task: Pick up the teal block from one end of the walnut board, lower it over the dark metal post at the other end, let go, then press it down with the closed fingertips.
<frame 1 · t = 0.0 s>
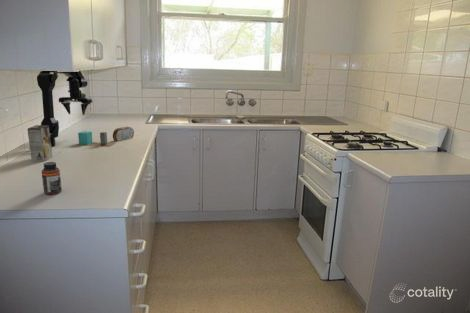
hand: (76, 114, 221), 15 cm above the countertop, tool pointing down, fingers open, 9 cm apart
tin: (124, 141, 220), on the countertop
teal block: (85, 143, 206), point 1 cm above the countertop, touching walnut board
walnut board: (95, 146, 205), on the countertop
post: (104, 144, 204), resting on walnut board
supplement bottle: (53, 192, 134), on the countertop
coffee box: (42, 159, 177), on the countertop
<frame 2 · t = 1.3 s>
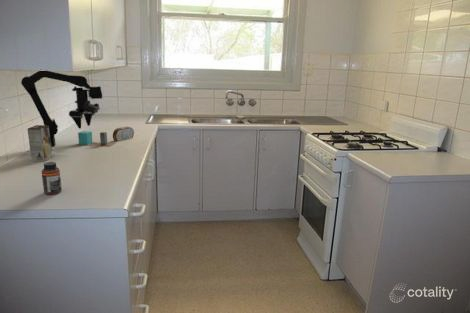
hand: (84, 127, 204), 11 cm above the countertop, tool pointing down, fingers open, 9 cm apart
nothing on the countertop moved.
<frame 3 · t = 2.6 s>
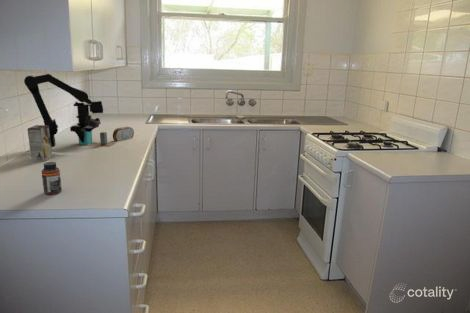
hand: (85, 141, 205), 3 cm above the countertop, tool pointing down, fingers closed on teal block, 5 cm apart
teal block: (85, 143, 206), point 1 cm above the countertop, touching gripper, walnut board
everything else where it was.
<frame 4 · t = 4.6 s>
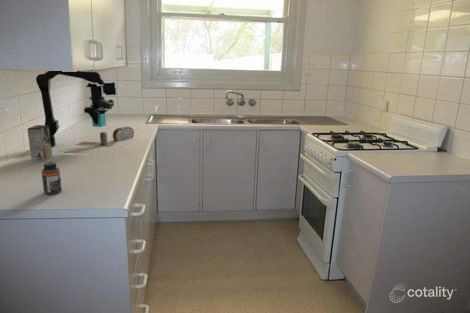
hand: (99, 123, 202), 13 cm above the countertop, tool pointing down, fingers closed on teal block, 5 cm apart
teal block: (99, 125, 202), point 12 cm above the countertop, touching gripper
everything else where it was.
when the fingers open (5 cm above the countertop, at t = 6.6 s): teal block drops 2 cm, resting on post.
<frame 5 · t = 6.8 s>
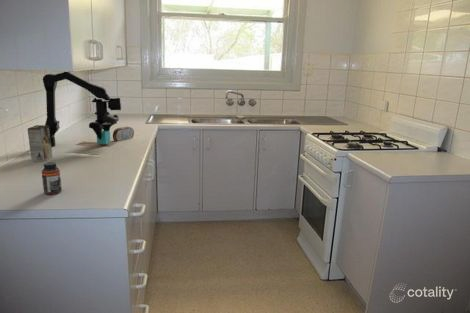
hand: (103, 138, 203), 5 cm above the countertop, tool pointing down, fingers open, 7 cm apart
teal block: (103, 143, 204), point 2 cm above the countertop, touching post
everything else where it was.
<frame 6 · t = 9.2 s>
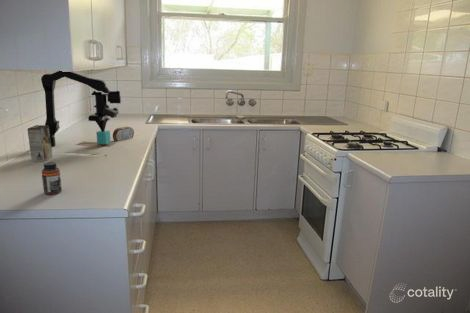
hand: (103, 131, 202), 9 cm above the countertop, tool pointing down, fingers closed, pressing on teal block
teal block: (103, 143, 204), point 2 cm above the countertop, touching gripper, post
everything else where it was.
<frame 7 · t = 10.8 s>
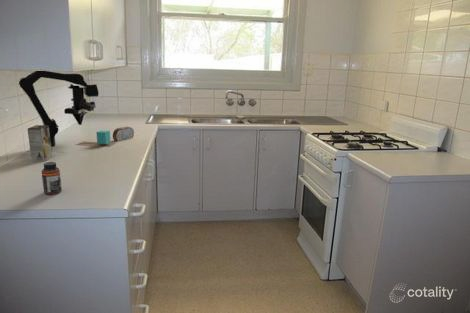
hand: (80, 124, 204), 12 cm above the countertop, tool pointing down, fingers closed
teal block: (103, 143, 204), point 2 cm above the countertop, touching post
everything else where it was.
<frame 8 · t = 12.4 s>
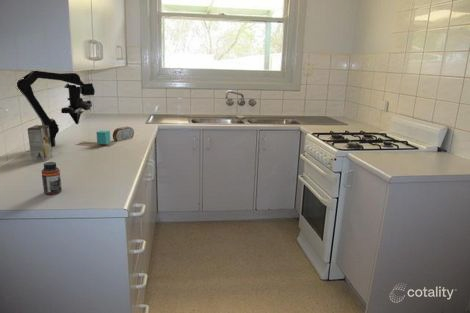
hand: (77, 124, 205), 12 cm above the countertop, tool pointing down, fingers closed
nothing on the countertop moved.
at the end: teal block 0.0 cm off-centre on the post, point 1.0 cm above the post's base; teal block tilted 0°; the gripper is holding nothing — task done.
